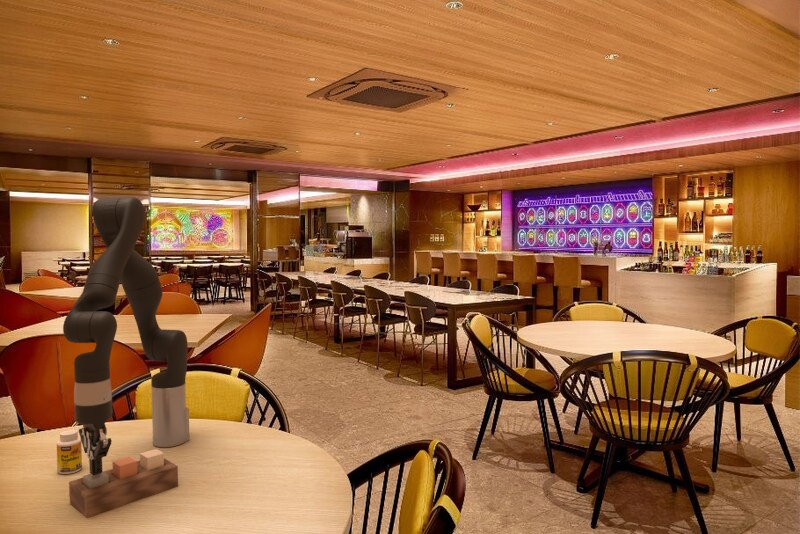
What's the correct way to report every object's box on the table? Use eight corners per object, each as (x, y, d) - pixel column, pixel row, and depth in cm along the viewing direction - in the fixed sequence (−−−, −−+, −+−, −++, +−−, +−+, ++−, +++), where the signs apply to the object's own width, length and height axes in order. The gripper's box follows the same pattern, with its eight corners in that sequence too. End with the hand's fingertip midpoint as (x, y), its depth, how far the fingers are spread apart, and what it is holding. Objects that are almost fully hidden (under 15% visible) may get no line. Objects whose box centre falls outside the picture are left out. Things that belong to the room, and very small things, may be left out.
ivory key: (156, 464, 145) (155, 448, 145) (163, 469, 143) (163, 453, 142) (140, 469, 142) (139, 453, 142) (147, 474, 140) (147, 457, 139)
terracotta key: (130, 472, 140) (129, 456, 140) (137, 477, 138) (136, 461, 137) (112, 478, 137) (112, 461, 137) (120, 483, 135) (119, 466, 134)
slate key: (102, 487, 136) (101, 470, 135) (109, 492, 133) (108, 475, 133) (83, 492, 133) (83, 475, 132) (90, 498, 130) (89, 481, 130)
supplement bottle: (58, 477, 147) (56, 437, 146) (56, 469, 152) (55, 431, 151) (83, 472, 150) (81, 433, 149) (81, 464, 155) (79, 427, 154)
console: (158, 474, 149) (158, 455, 149) (178, 485, 142) (177, 465, 142) (69, 502, 133) (68, 481, 133) (86, 517, 127) (85, 495, 126)
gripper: (122, 401, 130) (125, 476, 131) (99, 389, 138) (101, 460, 140) (87, 409, 124) (90, 488, 125) (64, 396, 133) (67, 470, 134)
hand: (96, 473), depth 133 cm, fingers closed
